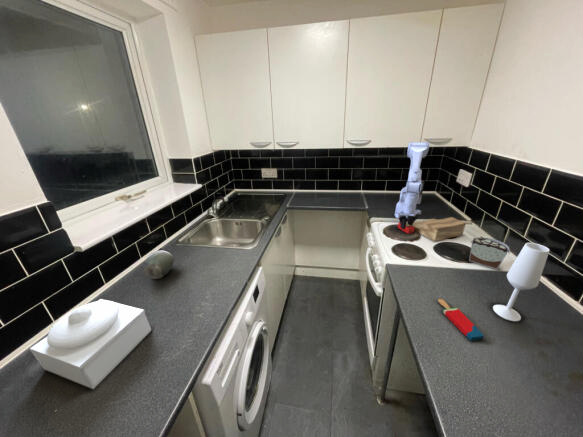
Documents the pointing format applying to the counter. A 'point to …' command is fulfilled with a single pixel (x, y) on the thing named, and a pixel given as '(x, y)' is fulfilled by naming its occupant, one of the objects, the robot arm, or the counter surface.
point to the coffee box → (420, 191)
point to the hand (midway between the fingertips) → (405, 227)
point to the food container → (488, 252)
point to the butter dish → (91, 341)
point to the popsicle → (461, 322)
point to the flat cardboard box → (440, 228)
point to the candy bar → (407, 228)
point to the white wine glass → (524, 276)
